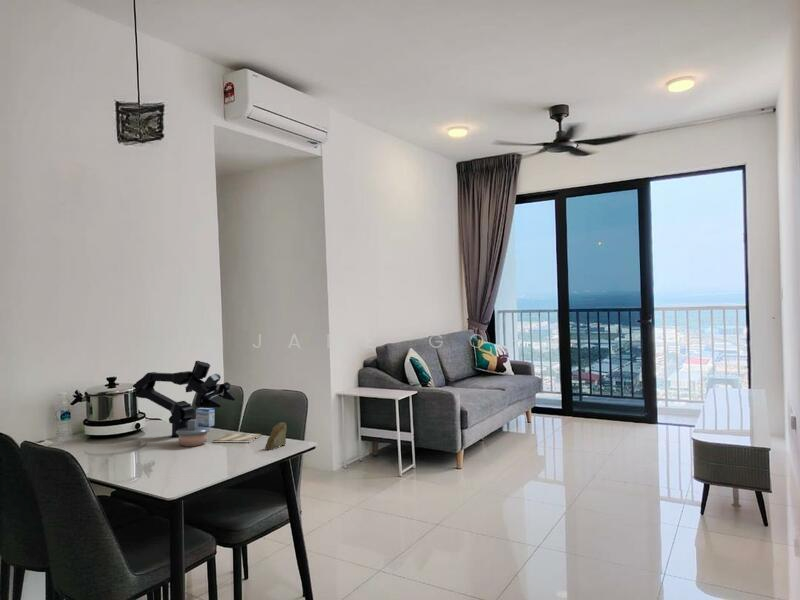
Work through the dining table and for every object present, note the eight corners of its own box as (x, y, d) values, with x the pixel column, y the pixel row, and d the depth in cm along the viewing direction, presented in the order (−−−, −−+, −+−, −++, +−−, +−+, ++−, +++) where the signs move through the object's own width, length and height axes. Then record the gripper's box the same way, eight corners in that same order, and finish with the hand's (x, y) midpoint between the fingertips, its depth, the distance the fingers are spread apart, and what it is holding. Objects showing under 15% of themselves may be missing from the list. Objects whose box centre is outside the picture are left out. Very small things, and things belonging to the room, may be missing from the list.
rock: (268, 445, 208) (292, 439, 214) (261, 426, 212) (285, 420, 218) (262, 458, 216) (286, 451, 221) (256, 439, 220) (279, 432, 225)
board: (213, 442, 226) (213, 440, 226) (226, 435, 240) (226, 433, 240) (249, 442, 225) (249, 440, 225) (261, 436, 239) (261, 433, 239)
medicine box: (195, 426, 265) (195, 408, 265) (201, 424, 269) (201, 407, 269) (209, 427, 262) (209, 409, 263) (214, 425, 267) (214, 407, 267)
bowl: (173, 447, 218) (173, 434, 218) (186, 441, 229) (186, 429, 229) (199, 447, 217) (199, 434, 217) (211, 441, 228) (211, 429, 228)
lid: (169, 435, 217) (170, 422, 217) (185, 429, 230) (185, 417, 230) (200, 435, 216) (200, 422, 216) (214, 429, 229) (214, 417, 229)
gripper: (188, 377, 228) (216, 393, 223) (219, 366, 245) (245, 380, 240) (183, 399, 231) (211, 416, 226) (214, 387, 248) (240, 402, 243)
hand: (227, 402), depth 234 cm, fingers open, 9 cm apart
